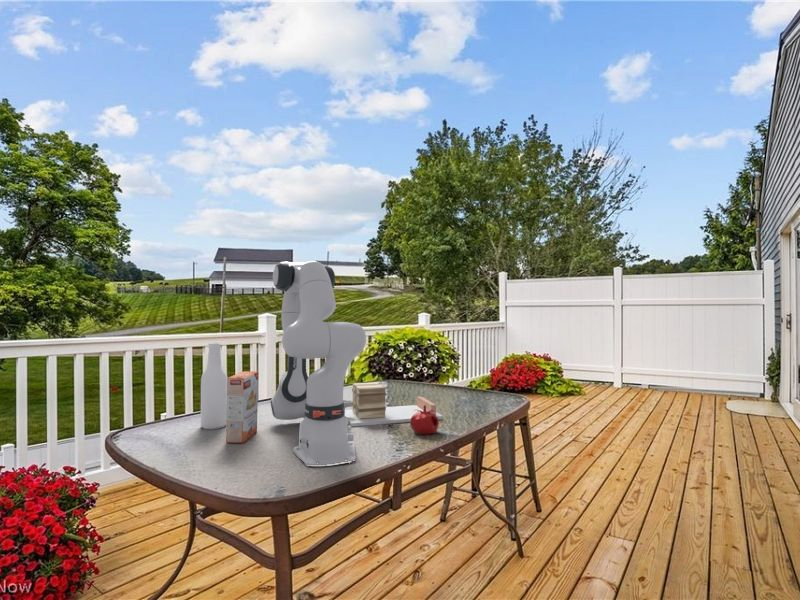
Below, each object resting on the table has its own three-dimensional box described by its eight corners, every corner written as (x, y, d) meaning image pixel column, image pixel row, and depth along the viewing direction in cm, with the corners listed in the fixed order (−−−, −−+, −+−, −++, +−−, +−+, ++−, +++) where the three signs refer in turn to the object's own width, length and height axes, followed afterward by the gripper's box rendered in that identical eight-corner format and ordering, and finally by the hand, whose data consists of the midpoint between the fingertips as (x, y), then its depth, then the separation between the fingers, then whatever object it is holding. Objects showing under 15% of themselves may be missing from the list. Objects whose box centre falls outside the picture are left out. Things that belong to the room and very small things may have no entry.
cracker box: (244, 443, 145) (244, 377, 144) (225, 443, 145) (225, 377, 145) (258, 431, 159) (259, 370, 158) (241, 430, 159) (241, 370, 159)
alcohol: (204, 423, 167) (204, 341, 167) (229, 422, 169) (229, 341, 169) (197, 430, 159) (198, 344, 158) (224, 429, 160) (225, 343, 160)
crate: (385, 416, 173) (386, 387, 173) (358, 418, 170) (359, 389, 170) (377, 409, 185) (377, 382, 185) (351, 411, 182) (352, 383, 182)
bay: (442, 419, 176) (442, 405, 176) (351, 426, 165) (351, 412, 165) (424, 407, 195) (424, 395, 195) (340, 413, 184) (340, 400, 184)
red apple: (410, 436, 154) (410, 408, 154) (410, 428, 164) (410, 402, 164) (439, 437, 154) (439, 409, 154) (437, 428, 164) (438, 402, 164)
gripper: (319, 403, 161) (358, 401, 165) (312, 392, 181) (346, 390, 185) (319, 421, 161) (358, 418, 165) (312, 408, 181) (346, 405, 185)
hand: (352, 403), depth 175 cm, fingers closed
